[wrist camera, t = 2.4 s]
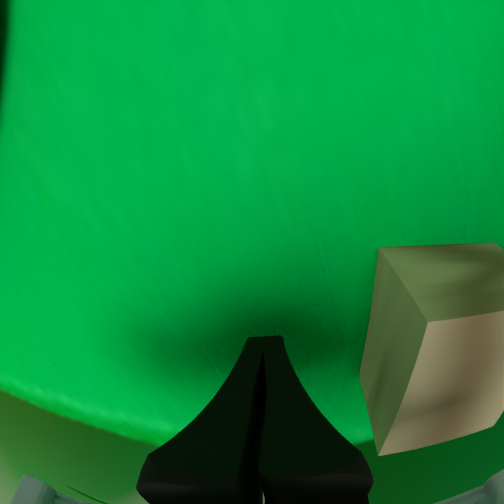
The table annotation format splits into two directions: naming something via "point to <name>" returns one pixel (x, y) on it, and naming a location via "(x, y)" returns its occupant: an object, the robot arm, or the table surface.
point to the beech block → (434, 344)
